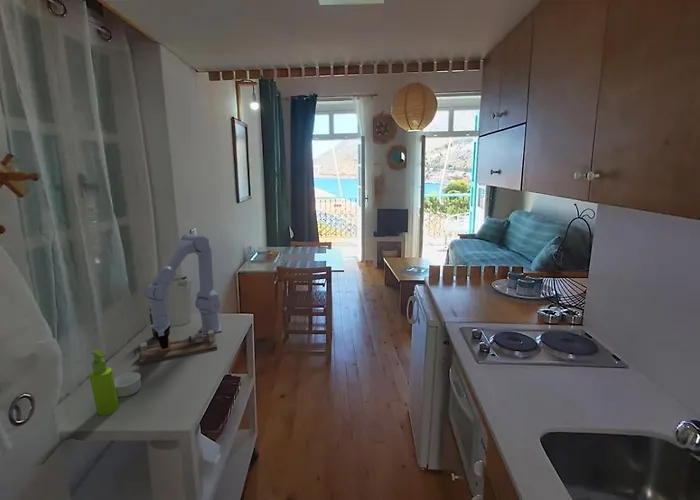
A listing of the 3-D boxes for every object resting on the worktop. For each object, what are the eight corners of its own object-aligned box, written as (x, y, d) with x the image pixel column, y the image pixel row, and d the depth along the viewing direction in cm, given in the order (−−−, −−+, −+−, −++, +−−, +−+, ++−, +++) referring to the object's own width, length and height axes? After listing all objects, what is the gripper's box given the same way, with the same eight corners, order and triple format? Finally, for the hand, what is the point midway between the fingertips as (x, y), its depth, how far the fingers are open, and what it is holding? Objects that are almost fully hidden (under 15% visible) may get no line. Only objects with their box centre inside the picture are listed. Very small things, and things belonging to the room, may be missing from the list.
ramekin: (126, 400, 131) (124, 388, 130) (106, 395, 134) (104, 384, 133) (148, 385, 139) (146, 374, 138) (129, 381, 142) (126, 370, 141)
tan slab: (142, 350, 165) (140, 338, 164) (215, 336, 175) (213, 325, 173) (139, 364, 153) (137, 352, 152) (217, 349, 163) (215, 337, 162)
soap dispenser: (105, 419, 122) (92, 358, 117) (93, 412, 125) (80, 353, 121) (124, 408, 127) (113, 349, 122) (112, 402, 130) (101, 345, 125)
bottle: (170, 334, 178) (165, 302, 175) (158, 340, 173) (152, 307, 170) (162, 331, 181) (157, 300, 178) (150, 337, 177) (144, 304, 173)
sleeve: (160, 347, 163) (158, 336, 162) (171, 345, 164) (169, 334, 163) (159, 351, 159) (157, 340, 158) (170, 349, 161) (169, 338, 159)
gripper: (150, 309, 163) (155, 340, 167) (146, 322, 150) (152, 355, 153) (169, 306, 166) (173, 336, 169) (167, 318, 153) (172, 351, 156)
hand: (165, 345), depth 161 cm, fingers closed on sleeve, 4 cm apart
